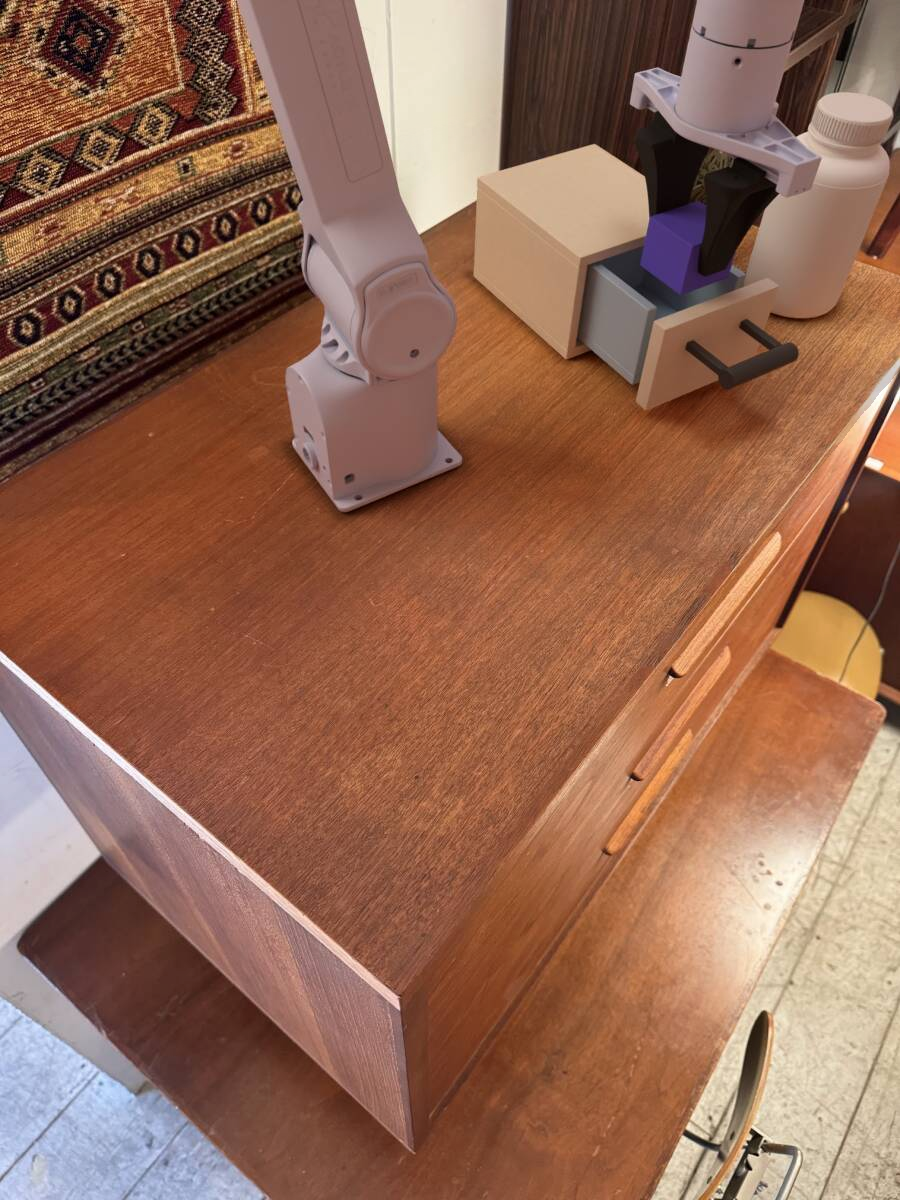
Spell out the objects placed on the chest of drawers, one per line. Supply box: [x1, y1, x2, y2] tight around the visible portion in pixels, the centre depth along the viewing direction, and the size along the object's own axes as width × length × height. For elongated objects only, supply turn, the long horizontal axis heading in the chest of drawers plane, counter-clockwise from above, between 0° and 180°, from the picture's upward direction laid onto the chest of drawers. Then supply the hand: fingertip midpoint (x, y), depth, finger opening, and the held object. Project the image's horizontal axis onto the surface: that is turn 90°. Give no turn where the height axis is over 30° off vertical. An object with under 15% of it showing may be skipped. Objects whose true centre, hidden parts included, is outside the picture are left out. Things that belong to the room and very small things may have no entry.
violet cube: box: [640, 201, 736, 295], centre depth 59 cm, size 4×4×4 cm
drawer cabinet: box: [473, 143, 649, 361], centre depth 70 cm, size 14×12×9 cm
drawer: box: [577, 246, 800, 411], centre depth 63 cm, size 17×10×7 cm, turn 31°
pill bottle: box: [743, 91, 894, 319], centre depth 68 cm, size 8×8×15 cm
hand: (687, 253), depth 60 cm, fingers closed on violet cube, 4 cm apart
